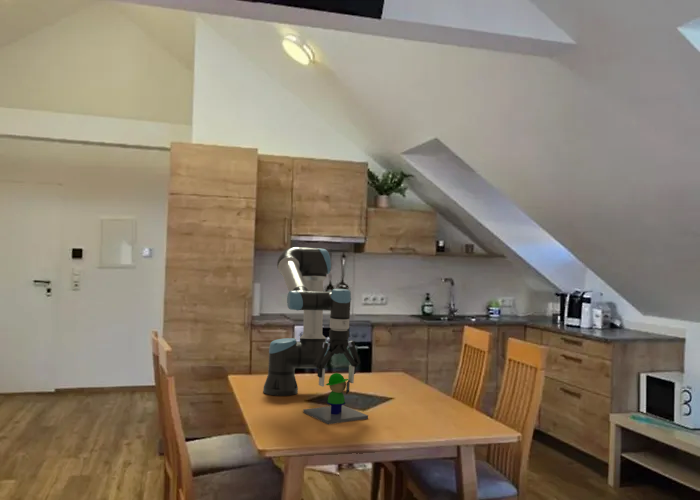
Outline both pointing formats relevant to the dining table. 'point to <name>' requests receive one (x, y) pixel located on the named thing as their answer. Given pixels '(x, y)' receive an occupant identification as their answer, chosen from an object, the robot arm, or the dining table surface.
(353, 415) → the plate
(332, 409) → the toy
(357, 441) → the dining table surface
